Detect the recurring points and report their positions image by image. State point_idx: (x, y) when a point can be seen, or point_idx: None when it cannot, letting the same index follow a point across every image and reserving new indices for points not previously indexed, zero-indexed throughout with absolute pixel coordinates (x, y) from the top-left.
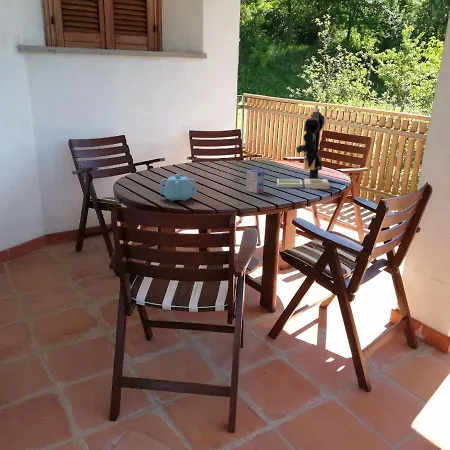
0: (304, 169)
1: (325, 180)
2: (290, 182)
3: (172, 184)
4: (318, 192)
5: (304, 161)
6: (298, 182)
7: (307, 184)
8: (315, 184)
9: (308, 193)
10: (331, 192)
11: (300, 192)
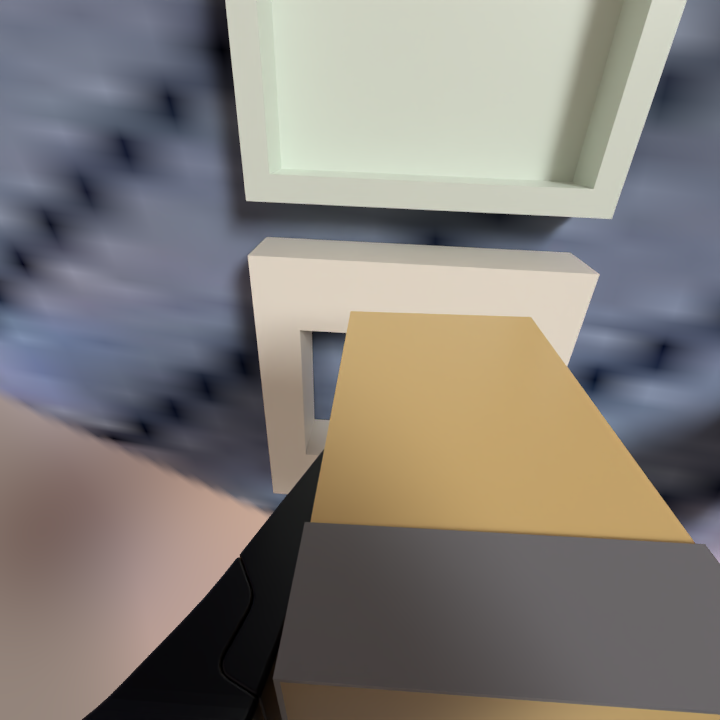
0: (351, 315)
1: None
2: (624, 2)
3: None
4: (109, 345)
5: (473, 465)
6: (578, 166)
7: (253, 270)
8: (263, 366)
9: (9, 232)
10: (156, 447)
11: (9, 128)
